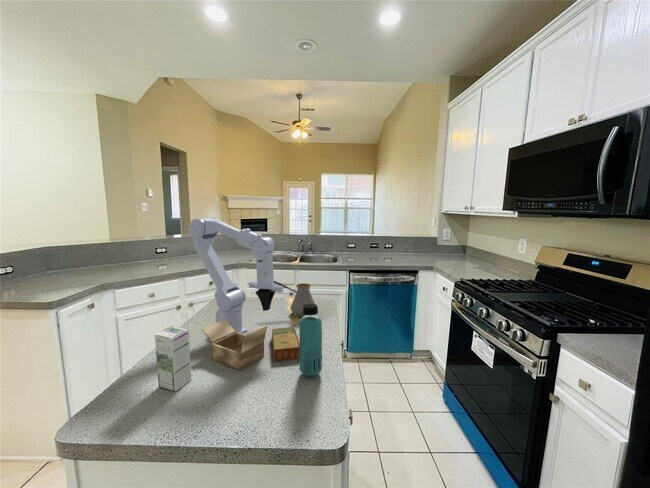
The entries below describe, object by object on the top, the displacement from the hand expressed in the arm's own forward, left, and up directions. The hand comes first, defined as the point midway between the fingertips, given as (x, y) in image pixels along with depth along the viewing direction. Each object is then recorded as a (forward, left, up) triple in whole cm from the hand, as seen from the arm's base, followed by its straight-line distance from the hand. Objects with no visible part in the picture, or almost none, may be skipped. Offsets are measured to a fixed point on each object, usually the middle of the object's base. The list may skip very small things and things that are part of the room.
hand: (266, 309), depth 101 cm
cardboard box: (+2, -15, -10) cm, 18 cm away
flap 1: (-7, -15, -3) cm, 17 cm away
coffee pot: (-7, +25, -11) cm, 28 cm away
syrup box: (-2, -33, -11) cm, 35 cm away
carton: (+10, -2, -11) cm, 15 cm away
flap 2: (+8, -15, -2) cm, 17 cm away
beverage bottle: (+26, -11, -11) cm, 30 cm away
